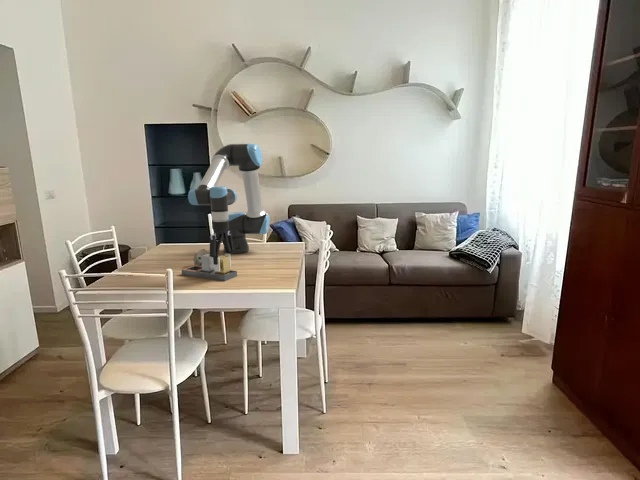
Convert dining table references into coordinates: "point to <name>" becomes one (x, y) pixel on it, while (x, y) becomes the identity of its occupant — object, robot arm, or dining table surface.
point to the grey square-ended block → (207, 263)
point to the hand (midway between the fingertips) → (223, 269)
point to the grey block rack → (197, 272)
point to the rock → (198, 256)
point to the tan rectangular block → (224, 265)
